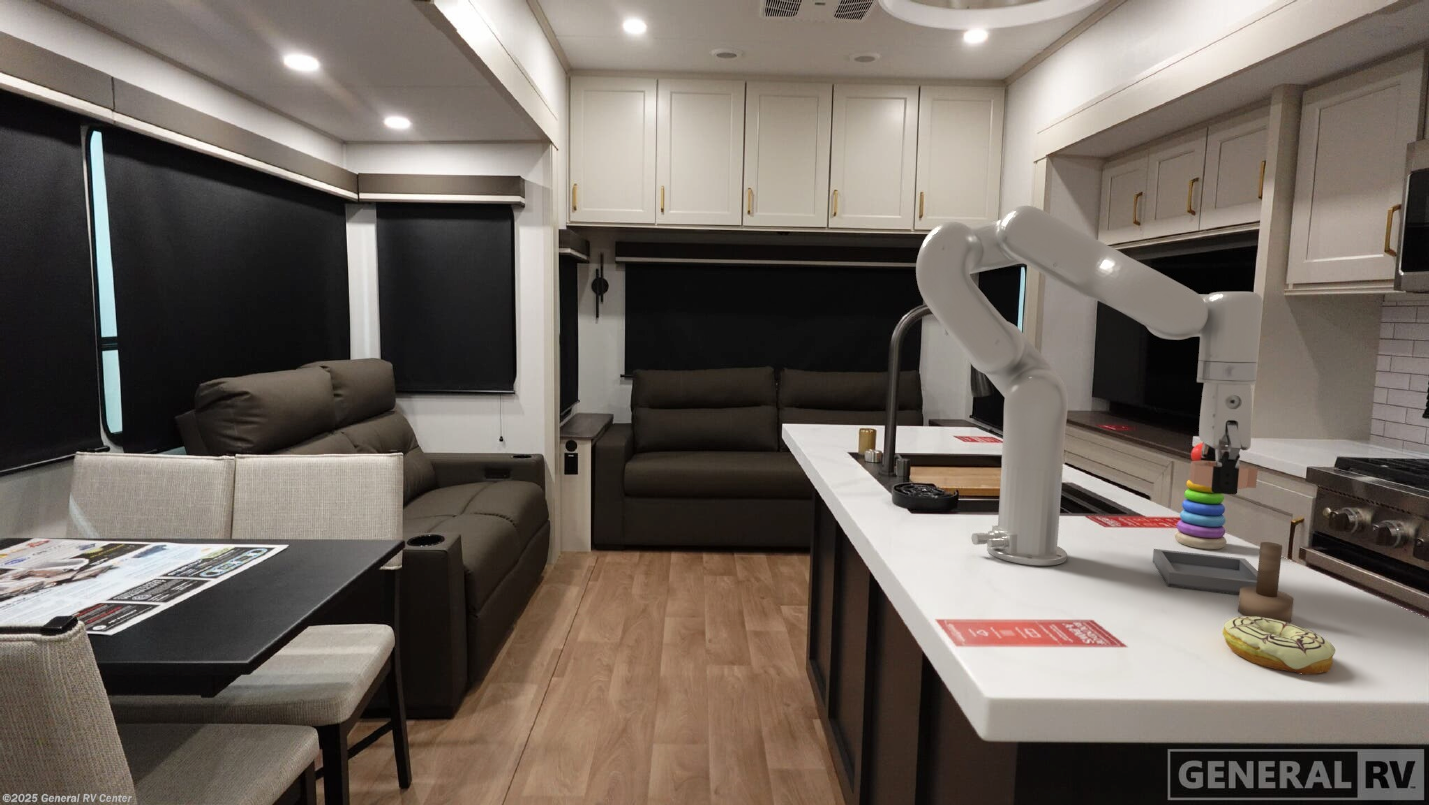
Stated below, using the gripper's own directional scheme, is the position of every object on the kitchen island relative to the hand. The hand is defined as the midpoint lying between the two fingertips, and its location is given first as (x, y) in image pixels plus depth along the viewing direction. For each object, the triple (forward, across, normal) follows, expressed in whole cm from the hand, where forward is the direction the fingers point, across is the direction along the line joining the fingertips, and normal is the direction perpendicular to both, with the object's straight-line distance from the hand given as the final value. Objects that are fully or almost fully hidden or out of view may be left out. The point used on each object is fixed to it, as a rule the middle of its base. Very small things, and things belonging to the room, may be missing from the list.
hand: (1217, 487), depth 118 cm
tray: (+15, 0, 0) cm, 15 cm away
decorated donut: (+15, -30, 0) cm, 33 cm away
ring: (-1, 0, 0) cm, 1 cm away
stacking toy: (+15, +22, -3) cm, 27 cm away
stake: (+15, -14, -3) cm, 21 cm away
